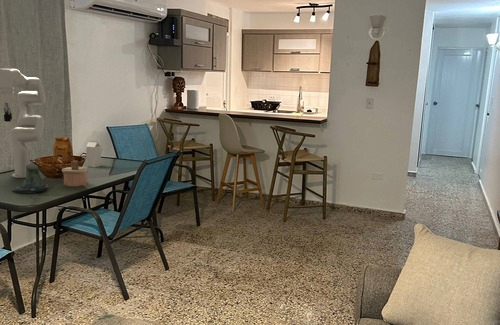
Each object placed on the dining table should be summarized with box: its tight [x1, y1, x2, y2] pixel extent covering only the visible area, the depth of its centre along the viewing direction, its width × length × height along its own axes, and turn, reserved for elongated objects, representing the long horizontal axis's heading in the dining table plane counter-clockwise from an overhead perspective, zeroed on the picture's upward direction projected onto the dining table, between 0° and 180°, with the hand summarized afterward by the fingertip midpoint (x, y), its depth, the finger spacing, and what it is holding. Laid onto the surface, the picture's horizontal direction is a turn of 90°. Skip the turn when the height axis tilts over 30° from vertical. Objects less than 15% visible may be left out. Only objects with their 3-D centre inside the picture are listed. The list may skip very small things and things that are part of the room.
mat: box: [87, 170, 111, 179], centre depth 294 cm, size 16×16×1 cm
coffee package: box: [52, 136, 74, 157], centre depth 309 cm, size 10×12×22 cm
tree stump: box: [11, 163, 49, 194], centre depth 251 cm, size 18×20×18 cm
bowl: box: [63, 171, 88, 187], centre depth 270 cm, size 13×13×8 cm
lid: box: [61, 159, 89, 174], centre depth 269 cm, size 15×15×6 cm
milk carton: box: [85, 139, 102, 168], centre depth 318 cm, size 7×7×19 cm
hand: (8, 120), depth 256 cm, fingers open, 9 cm apart
